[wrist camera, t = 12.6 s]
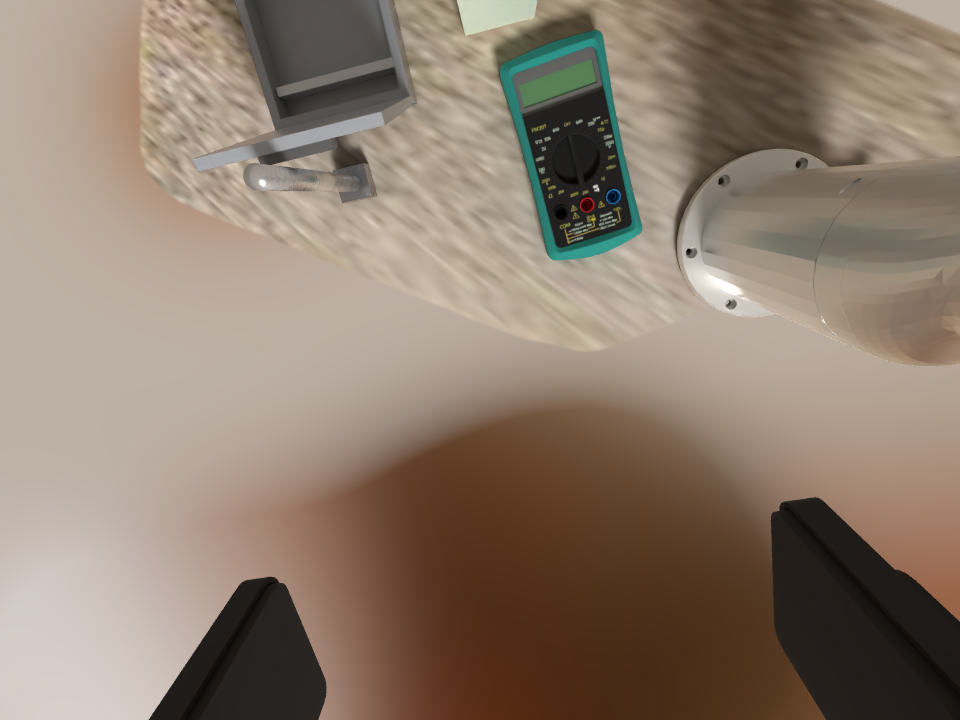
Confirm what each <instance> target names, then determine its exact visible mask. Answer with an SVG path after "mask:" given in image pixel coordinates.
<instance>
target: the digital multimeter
mask: <svg viewBox="0 0 960 720" xmlns="http://www.w3.org/2000/svg"><path fill="white" fill-rule="evenodd" d="M521 71H522V72H521ZM518 72H519V73H518ZM500 80H501V83H502V87H503V90H504V93H505V96H506V99H507V103H508V106H509V109H510V112H511V115H512V119H513V122H514V125H515V128H516V131H517V135H518V138H519V142H520V145H521V149H522V152H523V156H524V159H525V163H526V167H527V170H528V174H529V177H530V181H531V185H532V190H533V194H534V198H535V202H536V206H537V210H538V214H539V219H540V223H541V228H542V232H543V237H544V241H545V246H546V251H547V254H548V256H549V257H550V258H551V259H552V260H569V259H578V258H585V257H591V256H594V255H598V254H601V253H604V252H607V251H609V250H611V249H613V248H615V247H617V246H619V245H621V244H623V243H625V242H627V241H628V240H630V239H632V238H634V237H635V236H637V235H639V234H640V233H641V231H642V224H641V220H640V216H639V212H638V209H637V205H636V201H635V197H634V193H633V189H632V185H631V181H630V177H629V172H628V168H627V164H626V160H625V156H624V151H623V147H622V142H621V137H620V132H619V127H618V122H617V116H616V111H615V106H614V101H613V95H612V89H611V83H610V77H609V70H608V64H607V58H606V52H605V46H604V40H603V35H602V33H601V32H600V31H598V30H593V31H589V32H585V33H582V34H578V35H574V36H571V37H568V38H564V39H561V40H558V41H555V42H552V43H549V44H547V45H544V46H541V47H539V48H537V49H534V50H532V51H530V52H528V53H525V54H523V55H521V56H519V57H517V58H515V59H513V60H511V61H508V62H506V63H505V64H503V65H502V66H501V68H500ZM523 121H524V122H523ZM528 140H529V141H528ZM602 161H603V162H602ZM549 162H550V163H549ZM550 168H551V169H550ZM598 172H599V173H598ZM552 173H553V174H552ZM587 183H588V184H587ZM543 197H544V198H543ZM544 201H545V202H544ZM545 205H546V206H545ZM629 208H630V209H629ZM549 220H550V221H549ZM550 224H551V225H550ZM551 228H552V229H551ZM614 231H615V232H614ZM598 236H599V237H598ZM554 239H555V240H554ZM582 241H583V242H582Z"/></svg>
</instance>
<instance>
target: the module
mask: <svg viewBox="0 0 960 720" xmlns="http://www.w3.org/2000/svg"><path fill="white" fill-rule="evenodd" d="M457 3H458V7H459V11H460V16H461V20H462V24H463V28H464V32H465V36H467V35H470V34H474V33H478V32H481V31H485V30H489V29H493V28H496V27H500V26H504V25H508V24H511V23H515V22H519V21H523V20H526V19H530V18H534V15H535V10H536V4H537V0H457Z"/></svg>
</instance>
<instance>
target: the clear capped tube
mask: <svg viewBox="0 0 960 720" xmlns="http://www.w3.org/2000/svg"><path fill="white" fill-rule="evenodd" d="M333 172H334V173H332V172H323V171H315V170H307V169H299V168H290V167H282V166H274V165H265V164H257V163H252V164H249V165H248V166H247V167H246V168H245V170H244V173H243V177H244V181H245V183H246V184H247V186H248V187H249V188H251V189H252V190H255V191H326V192H339V193H340V197H341V200H342V203H350V202H354V201H358V200H362V199H367V198H371V197H375V196H377V194H376V190H375V186H374V182H373V179H372V175H371V171H370V168H369V164H365V163H362V164H358V165H354V166H349V167H345V168H341V169H337V170H333Z"/></svg>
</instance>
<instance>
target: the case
mask: <svg viewBox="0 0 960 720" xmlns="http://www.w3.org/2000/svg"><path fill="white" fill-rule="evenodd" d="M234 1H235V4H236V7H237V10H238V13H239V16H240V20H241V23H242V26H243V29H244V32H245V35H246V39H247V42H248V45H249V48H250V51H251V54H252V58H253V61H254V64H255V67H256V70H257V73H258V77H259V80H260V83H261V86H262V89H263V92H264V96H265V99H266V102H267V105H268V108H269V111H270V114H271V118H272V121H273V124H274V127H275V130H278V129H282V128H286V127H290V126H294V125H298V124H302V123H306V122H310V121H314V120H317V119H321V118H325V117H329V116H333V115H337V114H341V113H345V112H349V111H353V110H357V109H361V108H365V107H368V106H372V105H376V104H380V103H384V102H388V101H392V100H396V99H400V98H404V97H408V96H410V97H411V101H412V105H413V104H417V100H416V96H415V91H414V87H413V83H412V78H411V74H410V70H409V65H408V61H407V57H406V52H405V48H404V44H403V39H402V35H401V31H400V26H399V22H398V17H397V13H396V9H395V4H394V0H234Z"/></svg>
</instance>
